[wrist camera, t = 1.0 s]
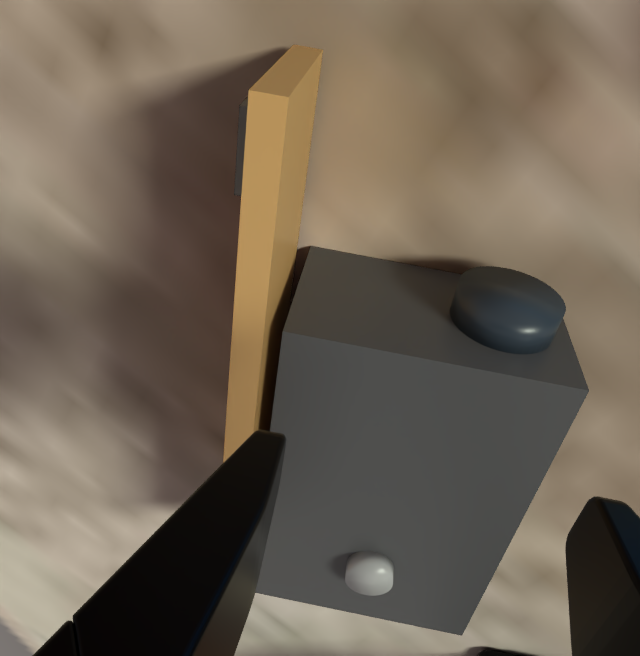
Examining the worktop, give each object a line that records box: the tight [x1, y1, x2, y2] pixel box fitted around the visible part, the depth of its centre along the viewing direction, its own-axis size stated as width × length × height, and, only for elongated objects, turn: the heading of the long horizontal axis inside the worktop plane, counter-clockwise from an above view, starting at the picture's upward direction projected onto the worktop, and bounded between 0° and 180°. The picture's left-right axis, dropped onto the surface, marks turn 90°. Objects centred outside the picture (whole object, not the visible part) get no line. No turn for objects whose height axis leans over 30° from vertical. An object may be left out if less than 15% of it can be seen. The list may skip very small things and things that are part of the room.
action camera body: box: [255, 246, 589, 635], centre depth 21 cm, size 13×8×6 cm, turn 172°
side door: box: [223, 45, 323, 463], centre depth 19 cm, size 18×1×5 cm, turn 172°
